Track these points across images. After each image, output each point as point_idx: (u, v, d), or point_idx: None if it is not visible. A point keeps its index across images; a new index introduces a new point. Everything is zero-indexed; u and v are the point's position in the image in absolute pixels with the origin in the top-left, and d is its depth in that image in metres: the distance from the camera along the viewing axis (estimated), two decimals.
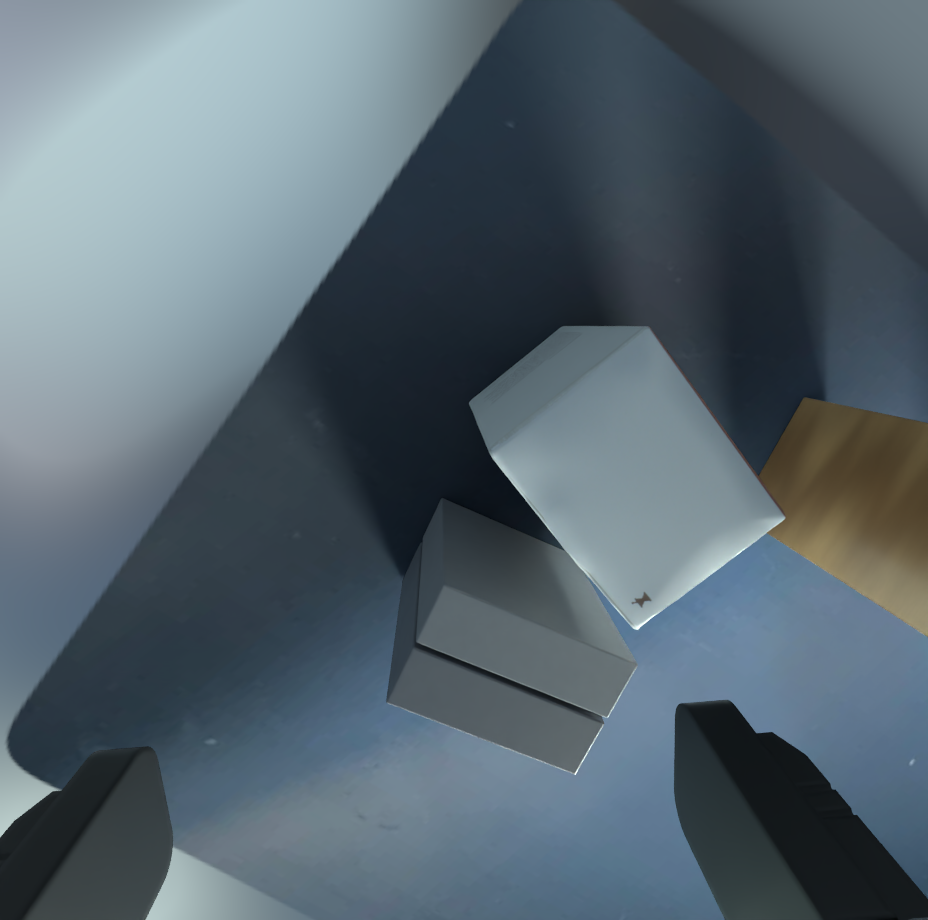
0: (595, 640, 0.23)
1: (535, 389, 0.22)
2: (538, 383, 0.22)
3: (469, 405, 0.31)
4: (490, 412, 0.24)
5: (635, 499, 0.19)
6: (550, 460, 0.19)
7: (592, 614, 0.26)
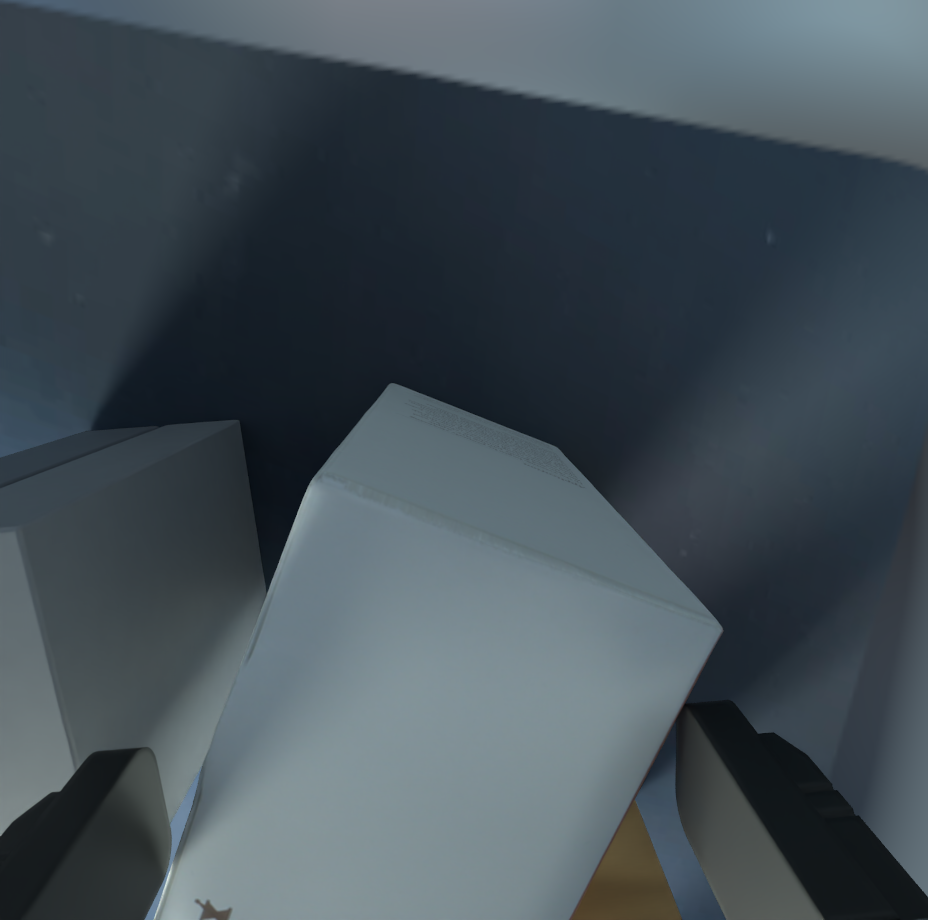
0: None
1: (478, 479, 0.11)
2: (488, 475, 0.12)
3: None
4: (395, 423, 0.13)
5: (393, 795, 0.09)
6: (371, 605, 0.08)
7: (178, 759, 0.15)
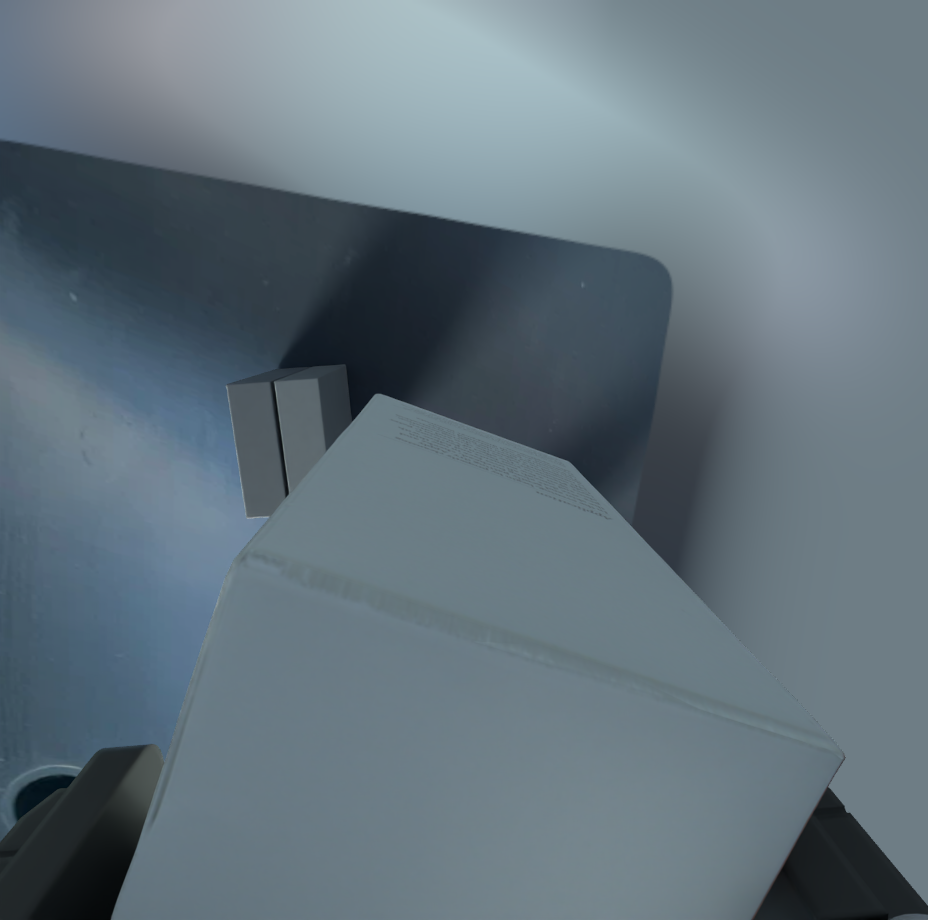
0: None
1: (482, 526, 0.08)
2: (494, 518, 0.09)
3: (372, 397, 0.17)
4: (375, 449, 0.11)
5: None
6: (328, 741, 0.06)
7: None
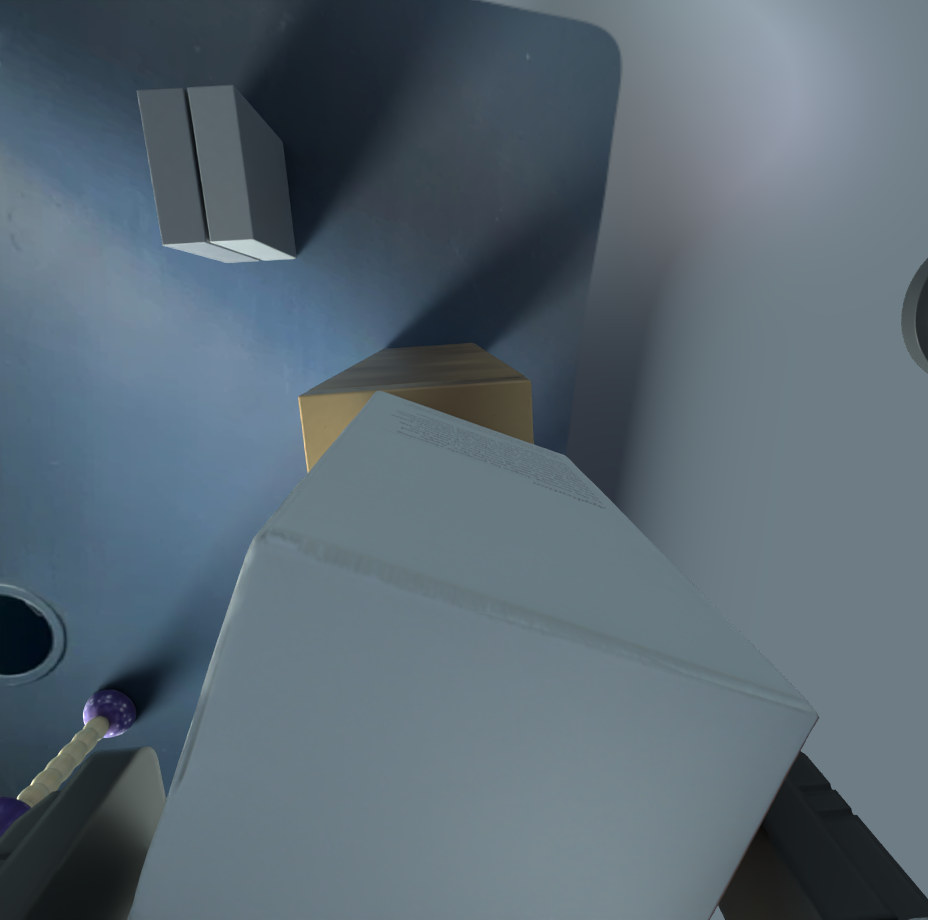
0: (253, 210, 0.35)
1: (481, 512, 0.09)
2: (493, 505, 0.10)
3: (373, 394, 0.18)
4: (378, 442, 0.11)
5: None
6: (342, 704, 0.06)
7: (266, 228, 0.38)
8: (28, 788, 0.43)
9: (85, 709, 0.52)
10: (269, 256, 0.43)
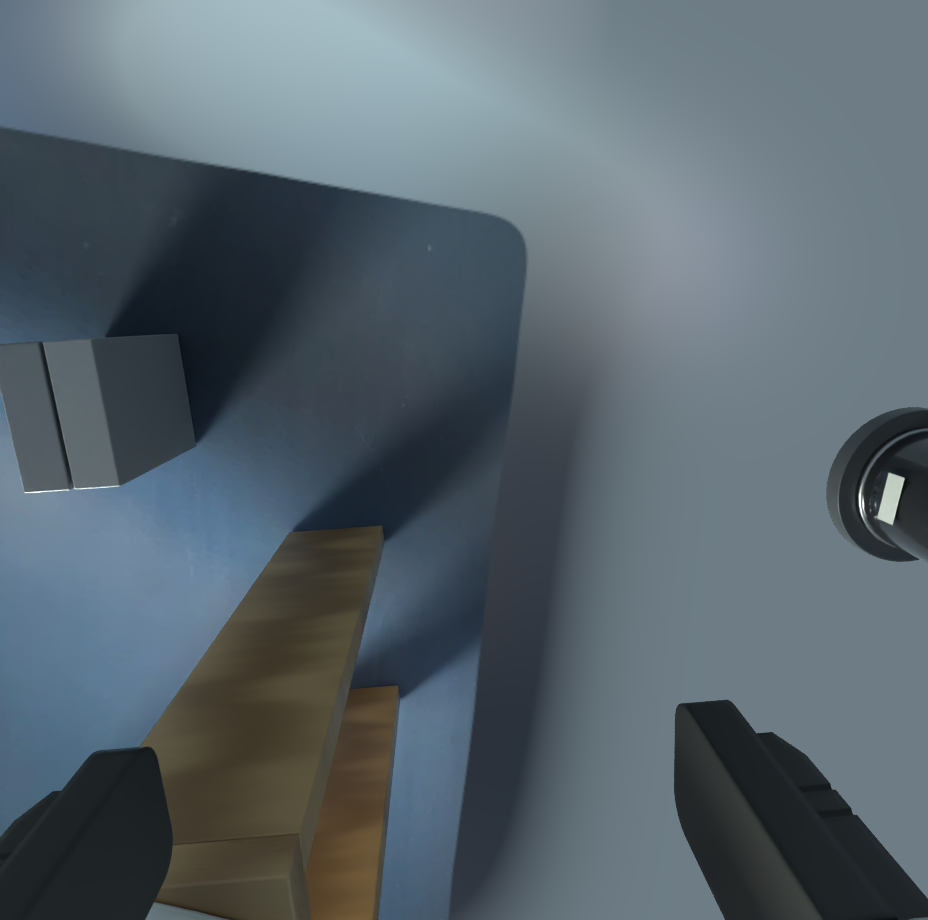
0: (119, 454, 0.34)
1: None
2: None
3: None
4: None
5: None
6: None
7: (144, 455, 0.37)
8: None
9: None
10: None
